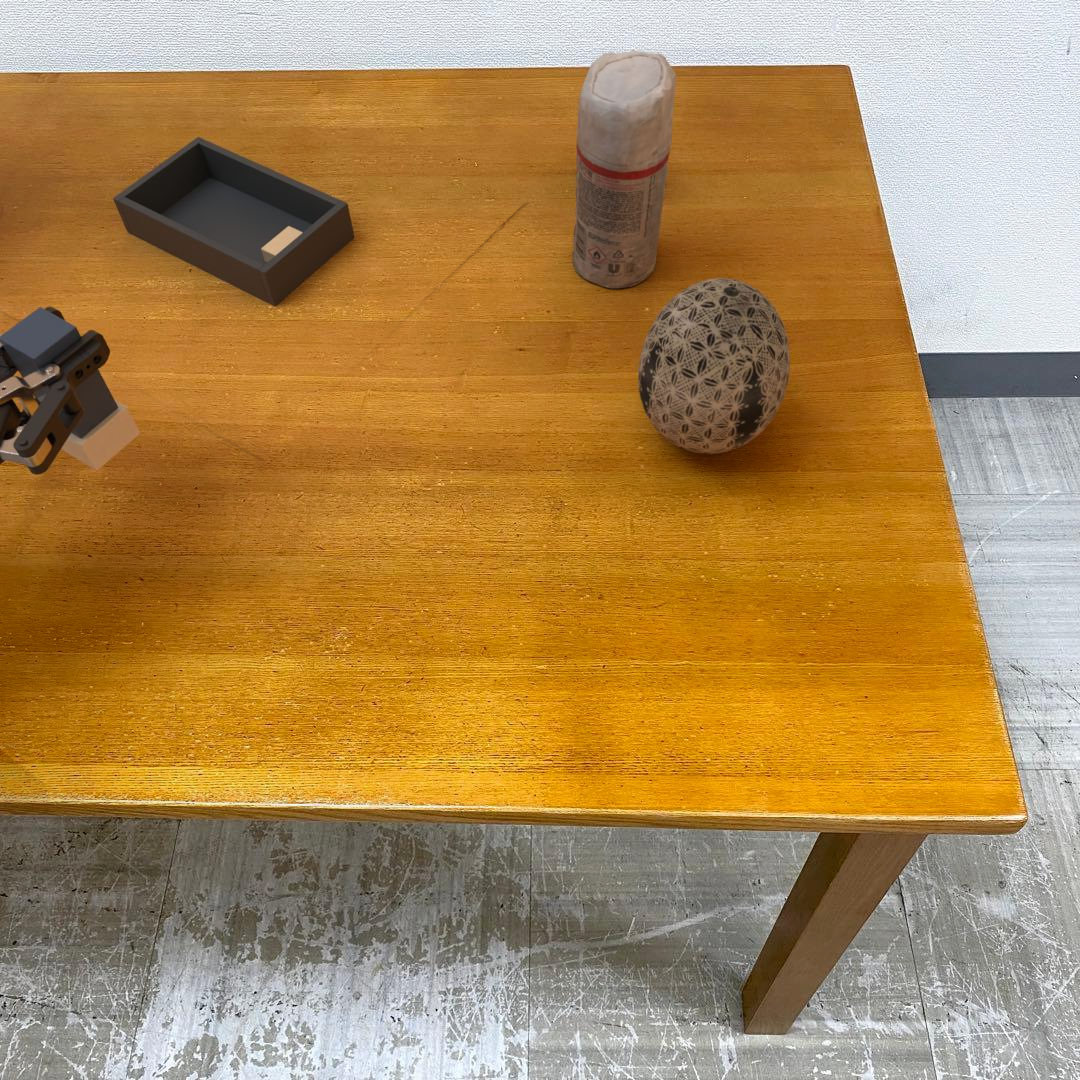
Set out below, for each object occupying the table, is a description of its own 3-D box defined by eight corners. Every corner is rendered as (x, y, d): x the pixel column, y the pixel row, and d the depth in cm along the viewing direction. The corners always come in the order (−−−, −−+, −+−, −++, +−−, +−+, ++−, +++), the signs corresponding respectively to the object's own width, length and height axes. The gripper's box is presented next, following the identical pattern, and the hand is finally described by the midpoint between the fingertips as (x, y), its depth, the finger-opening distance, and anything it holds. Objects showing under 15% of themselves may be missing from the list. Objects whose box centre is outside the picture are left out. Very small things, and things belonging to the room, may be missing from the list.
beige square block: (264, 261, 98) (260, 248, 96) (292, 238, 100) (288, 225, 98) (295, 277, 96) (292, 263, 95) (323, 253, 98) (320, 240, 97)
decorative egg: (611, 400, 88) (619, 264, 75) (732, 364, 90) (760, 225, 78) (669, 502, 82) (688, 371, 69) (797, 459, 84) (839, 326, 71)
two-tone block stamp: (56, 446, 76) (-12, 338, 67) (100, 409, 78) (40, 300, 69) (96, 471, 74) (33, 365, 65) (141, 433, 76) (85, 325, 67)
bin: (129, 236, 101) (112, 198, 97) (211, 175, 106) (198, 136, 103) (276, 311, 95) (264, 272, 91) (355, 242, 100) (347, 202, 96)
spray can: (677, 269, 97) (701, 72, 81) (609, 305, 95) (619, 109, 78) (622, 223, 101) (635, 26, 84) (555, 256, 98) (555, 59, 82)
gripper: (-93, 510, 57) (135, 327, 65) (-241, 406, 61) (-11, 248, 69) (-30, 581, 63) (171, 407, 71) (-168, 482, 67) (35, 329, 76)
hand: (80, 329), depth 70 cm, fingers closed on two-tone block stamp, 3 cm apart
